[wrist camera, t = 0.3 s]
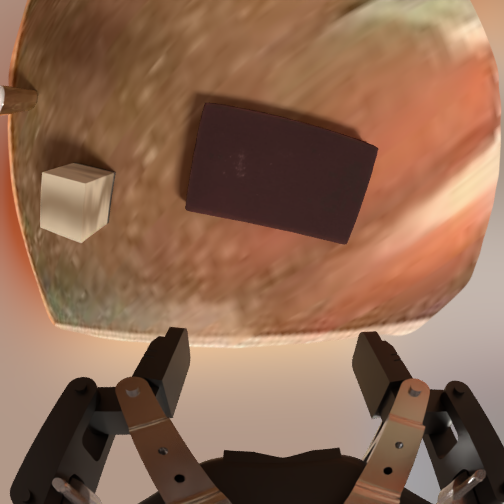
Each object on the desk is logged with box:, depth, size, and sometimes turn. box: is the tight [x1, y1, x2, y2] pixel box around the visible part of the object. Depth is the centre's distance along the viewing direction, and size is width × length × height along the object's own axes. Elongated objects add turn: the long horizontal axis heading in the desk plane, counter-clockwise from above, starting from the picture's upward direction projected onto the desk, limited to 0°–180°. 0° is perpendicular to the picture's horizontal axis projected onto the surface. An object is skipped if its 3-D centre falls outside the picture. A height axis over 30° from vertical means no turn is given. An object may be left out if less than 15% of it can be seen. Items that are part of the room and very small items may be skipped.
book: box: [185, 103, 378, 244], centre depth 29 cm, size 12×19×3 cm, turn 78°
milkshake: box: [0, 85, 38, 116], centre depth 20 cm, size 5×5×10 cm
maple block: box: [40, 163, 116, 243], centre depth 28 cm, size 7×7×7 cm
